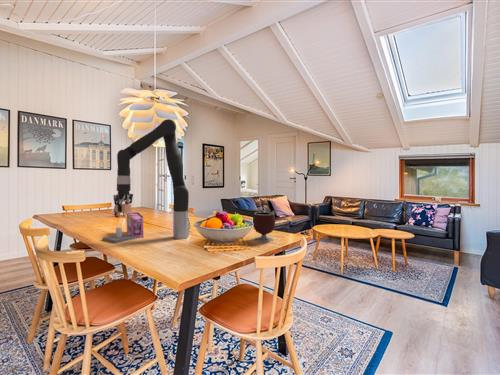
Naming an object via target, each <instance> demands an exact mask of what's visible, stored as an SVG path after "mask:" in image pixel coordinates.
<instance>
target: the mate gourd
mask: <svg viewBox="0 0 500 375" xmlns="http://www.w3.org/2000/svg"><path fill="white" fill-rule="evenodd" d="M275 212H277V209H275V210H272V211H257V212H254V214H253V219H252V221H253V224H252V225H253V229H254V230H255V233H258V234H260V235H261V236H257V237H254V238H253V240H254V241H255V240H256V241H255V242H257V241H259V242H258V243H271V242H270V241H272V242H273V241H274V238H273V237H271V236H269V237H268V236H267V235H268V234H271V233H272V232H273V231H274V229H275V226H276V216H275Z"/></svg>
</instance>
